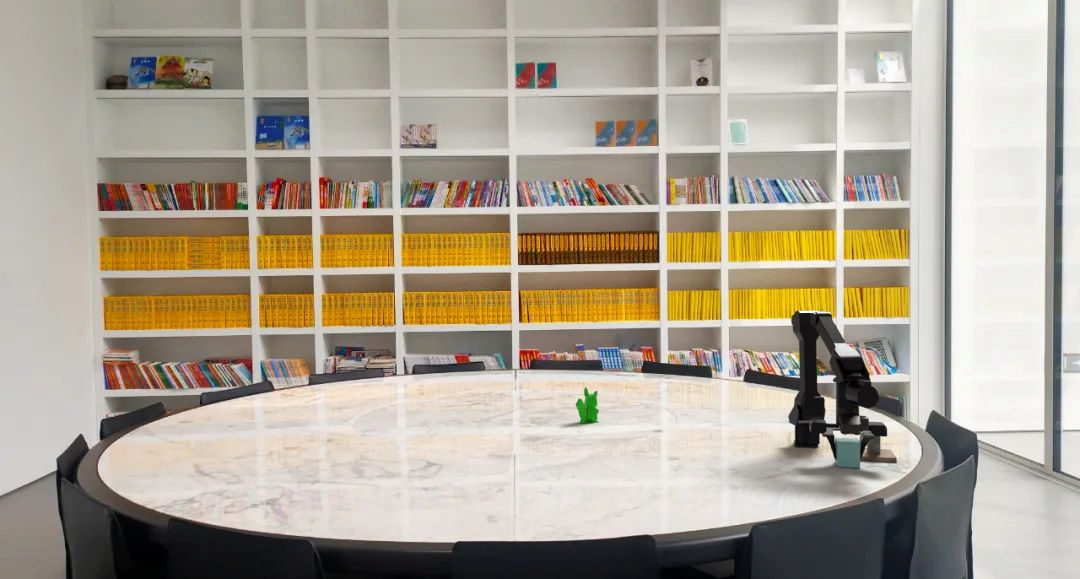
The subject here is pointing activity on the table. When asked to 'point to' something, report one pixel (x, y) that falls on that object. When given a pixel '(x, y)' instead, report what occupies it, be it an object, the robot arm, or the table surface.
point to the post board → (878, 457)
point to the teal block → (847, 452)
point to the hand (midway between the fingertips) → (847, 460)
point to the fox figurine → (588, 408)
